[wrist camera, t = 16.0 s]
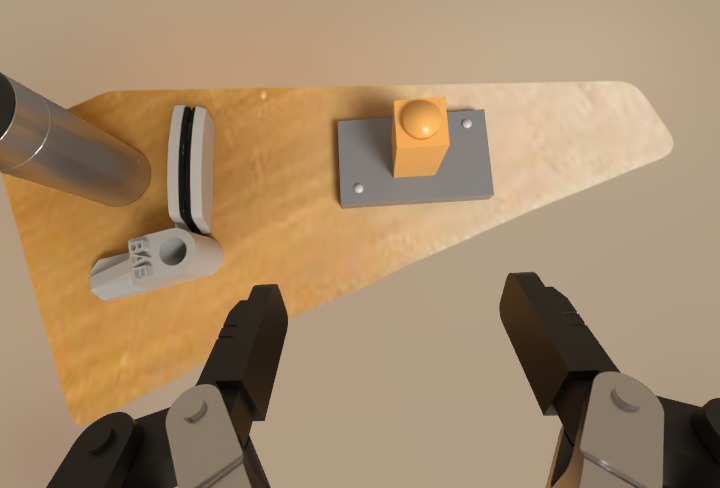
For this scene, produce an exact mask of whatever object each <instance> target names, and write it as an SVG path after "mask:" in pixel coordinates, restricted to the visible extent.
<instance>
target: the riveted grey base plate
mask: <svg viewBox="0 0 720 488" xmlns="http://www.w3.org/2000/svg"><path fill="white" fill-rule="evenodd" d="M447 120H448V131H449V142H450V145H449V147H448V149H447V151H446V154H445V156H444V158H443V160H442V162H441V164H440V166H439V168H438V170H437V172H436V175H431V176H416V177H400V178H394V176H393V160H392V144H391V136H392V121H393V117H384V118H371V119H359V120H347V121H338V144H339V169H340V194H341V206H342V208H359V207H375V206H390V205H406V204H421V203H437V202H453V201H468V200H484V199H489V198H491V197H492V196H493V195H494V191H493V183H492V174H491V165H490V157H489V148H488V139H487V131H486V122H485V113H484V109H482V110H470V111H458V112H447Z"/></svg>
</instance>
